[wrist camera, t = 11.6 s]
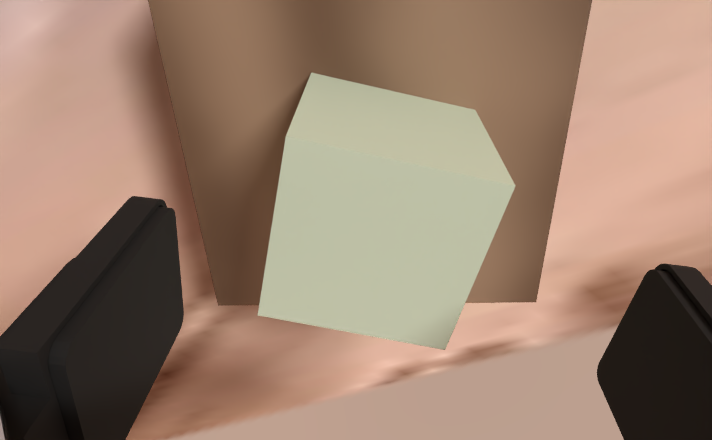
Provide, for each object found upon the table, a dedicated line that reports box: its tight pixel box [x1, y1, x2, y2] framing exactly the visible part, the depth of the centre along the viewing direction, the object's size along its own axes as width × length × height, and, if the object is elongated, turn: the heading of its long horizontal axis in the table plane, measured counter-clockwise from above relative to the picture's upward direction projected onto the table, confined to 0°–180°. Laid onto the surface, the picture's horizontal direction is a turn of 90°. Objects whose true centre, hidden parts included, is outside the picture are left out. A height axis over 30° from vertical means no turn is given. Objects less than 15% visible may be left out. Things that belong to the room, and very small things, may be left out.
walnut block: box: [148, 0, 592, 305], centre depth 18 cm, size 12×12×5 cm
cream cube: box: [258, 73, 515, 350], centre depth 14 cm, size 5×5×5 cm
